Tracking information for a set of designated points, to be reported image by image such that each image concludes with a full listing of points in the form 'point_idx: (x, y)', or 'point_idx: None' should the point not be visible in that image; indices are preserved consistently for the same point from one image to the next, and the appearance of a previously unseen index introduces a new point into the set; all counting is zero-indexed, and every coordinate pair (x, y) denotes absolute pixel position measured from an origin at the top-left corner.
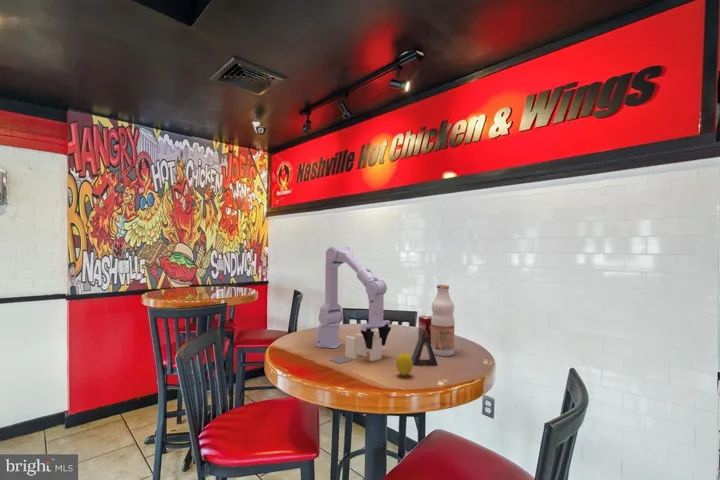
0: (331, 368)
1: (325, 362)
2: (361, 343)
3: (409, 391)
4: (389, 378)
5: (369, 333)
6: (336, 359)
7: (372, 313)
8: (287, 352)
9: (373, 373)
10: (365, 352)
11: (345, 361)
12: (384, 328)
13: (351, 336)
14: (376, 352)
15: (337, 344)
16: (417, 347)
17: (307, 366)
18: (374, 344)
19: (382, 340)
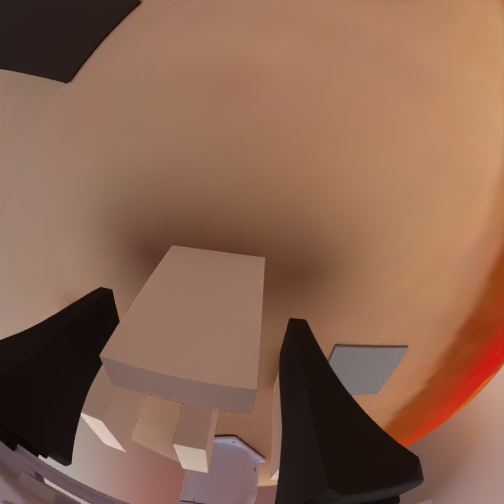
0: (462, 328)
1: (405, 383)
2: (215, 412)
3: None
4: (453, 17)
5: (420, 469)
6: (362, 384)
7: None
8: None
9: (458, 123)
10: None
11: (371, 350)
12: (17, 420)
13: (275, 473)
14: (214, 283)
15: None
16: (15, 11)
17: (455, 381)
18: (231, 342)
19: (94, 333)
